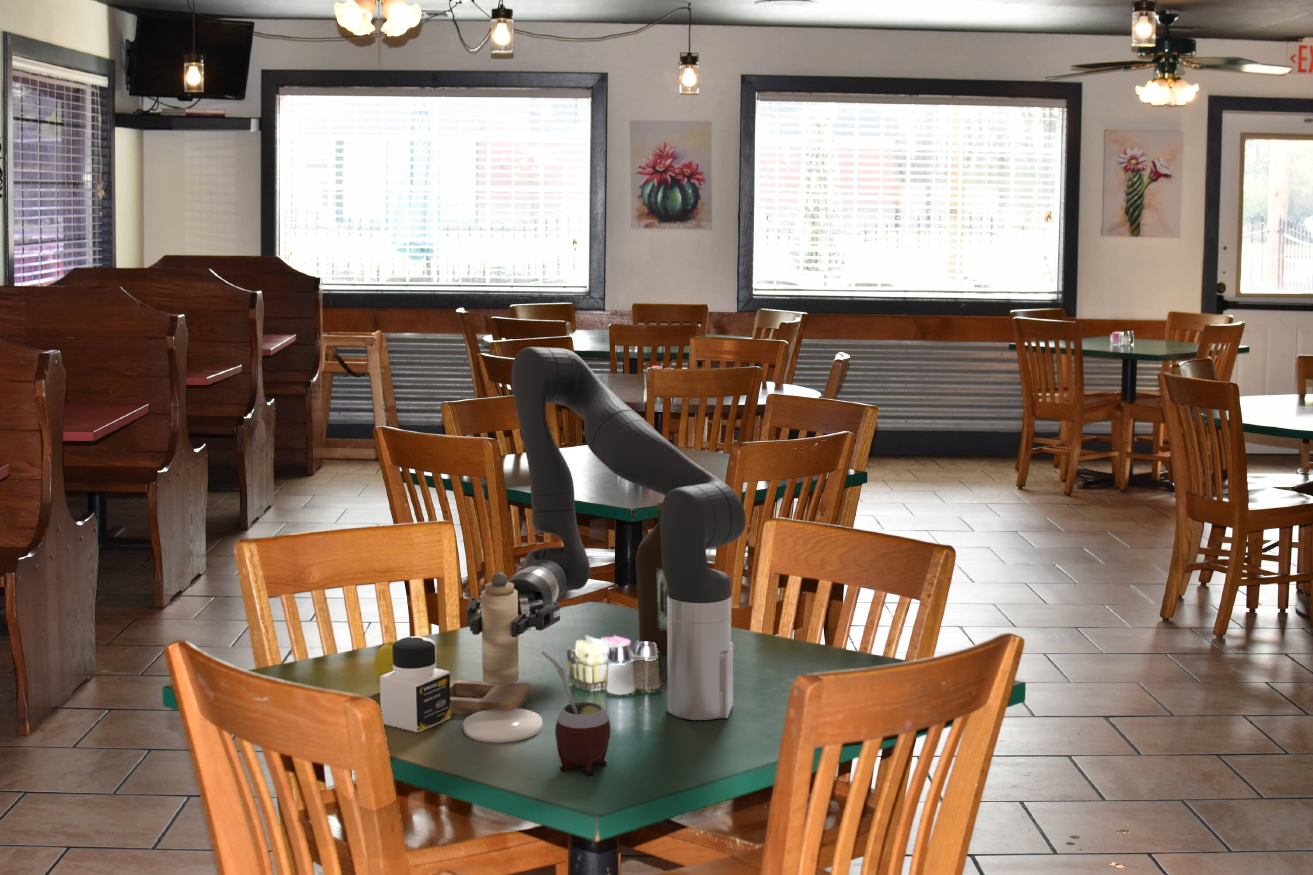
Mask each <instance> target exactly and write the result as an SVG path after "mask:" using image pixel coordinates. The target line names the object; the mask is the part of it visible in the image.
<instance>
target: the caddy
mask: <svg viewBox="0 0 1313 875" xmlns="http://www.w3.org/2000/svg"><path fill="white" fill-rule="evenodd" d="M472 696H476V697H472ZM529 698H530V683H520V682H519V683H518V682H514V683H511V684H505V685H493V684H488V683H485V682H484V681H483V680H470V679H469V680H467V679H451V678H450V705H451V714H453V713H460V715H469V714H474V713H477V712H480V711H484V710H489V709H496V710H513V709H514V708H518V709H521V707H522V706H523V705H524V704H525V703H526V701H527V700H528V699H529ZM461 713H462V714H461Z"/></svg>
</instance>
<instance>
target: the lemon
mask: <svg viewBox="0 0 1313 875" xmlns="http://www.w3.org/2000/svg"><path fill="white" fill-rule="evenodd" d="M395 642H396V641H395V640H390V641H389V642H388V643H385V644H384V645H382V646H381V647H380V648H378V650H377V652H376V654H375V656H374V662H373V672H374V677H375V679H376V681H377V683H378V684H379V685H380V676H382V675H384V674H387V673H390V672H392V671H394V670H393V651H392V646H393V644H394V643H395Z"/></svg>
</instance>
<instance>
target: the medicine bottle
mask: <svg viewBox="0 0 1313 875" xmlns="http://www.w3.org/2000/svg"><path fill="white" fill-rule="evenodd" d="M394 642H395V643H394V644H393V646H392V651H393V670H394V671H392V672H390V673H387V674H384V675H382V676H380V684H379V694H380V696H379V697H380V698H379V699H380V711H381V710H382V714H383V719H384V724H385V726H389V727H392V728H396V727H397V729H400V728H401V729H400V730H404V729H405V731H408V732H412V731H413V733H416V732H417V733H418V732H419V733H421V732H423V731H425V729H426V730H427V729H429V728H430V729H431V728H432V727H435V726H437V725H439V724H441V723H444V722H446V721H447V720H450V719H451V717H452V716H451V714H452V713H451V705H450V679H451V676H450V675H451V674H450V671H449V670H445V669H442V668H437V650H436V649H437V647H436V646H437V644H436V642H435V641H434V640H433V639H432V638H428V637H425V636H419V635H418V636H416V635H414V636H407V637H403V638H399V639H398V640H396V641H394ZM384 724H383V725H384ZM434 725H435V726H434ZM419 733H418V734H419Z"/></svg>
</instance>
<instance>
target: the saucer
mask: <svg viewBox="0 0 1313 875" xmlns="http://www.w3.org/2000/svg"><path fill="white" fill-rule="evenodd" d="M462 723H463V725H462V726H463V727H462V728H463V729H462V730H463V734H466V736H467V737H468V738H470V739H472V740H475V741H480V742H484V743H485V742H486V743H512V742H518V741H523V740H526V739H530V738H532V737H535V736H536V735H538V734H539V733H540V732H541V731H542V730H543V719H542V716H541V715H540V714H538V713H537V712H535V711H532V710H528V709H524V708H520V709H518V708H514V709H513V710H496V709H489V710H484V711H480V712H477V713H474V714H472V715H469V716H467V717H466V718H465V719H464V720H463V722H462Z"/></svg>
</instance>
